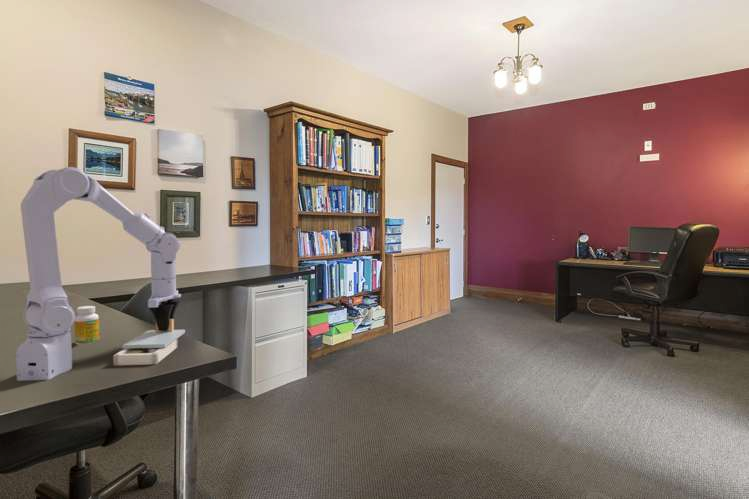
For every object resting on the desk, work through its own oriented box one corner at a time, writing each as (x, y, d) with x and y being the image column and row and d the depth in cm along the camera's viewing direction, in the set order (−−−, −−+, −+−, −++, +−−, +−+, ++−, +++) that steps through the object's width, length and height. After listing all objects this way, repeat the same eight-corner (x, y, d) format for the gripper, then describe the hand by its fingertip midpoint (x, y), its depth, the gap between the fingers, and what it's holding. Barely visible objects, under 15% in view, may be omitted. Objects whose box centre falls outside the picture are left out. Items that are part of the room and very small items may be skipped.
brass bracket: (137, 362, 92) (137, 354, 92) (123, 363, 92) (123, 354, 91) (143, 358, 95) (143, 350, 95) (129, 358, 95) (129, 350, 94)
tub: (156, 367, 91) (156, 354, 91) (113, 368, 90) (113, 355, 90) (177, 349, 104) (177, 338, 104) (140, 350, 103) (140, 339, 103)
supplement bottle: (86, 346, 107) (85, 309, 106) (69, 344, 108) (68, 308, 107) (104, 340, 112) (103, 305, 112) (88, 339, 113) (86, 304, 113)
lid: (165, 347, 96) (164, 331, 95) (122, 348, 94) (122, 332, 94) (185, 332, 109) (184, 318, 109) (147, 333, 108) (147, 319, 108)
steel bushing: (156, 357, 95) (156, 349, 95) (144, 357, 96) (144, 348, 95) (163, 354, 98) (163, 346, 98) (152, 353, 98) (152, 345, 98)
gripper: (168, 281, 100) (170, 336, 101) (189, 274, 114) (190, 322, 115) (138, 282, 99) (140, 337, 100) (162, 274, 113) (164, 323, 114)
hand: (165, 329), depth 107 cm, fingers closed on lid, 2 cm apart
